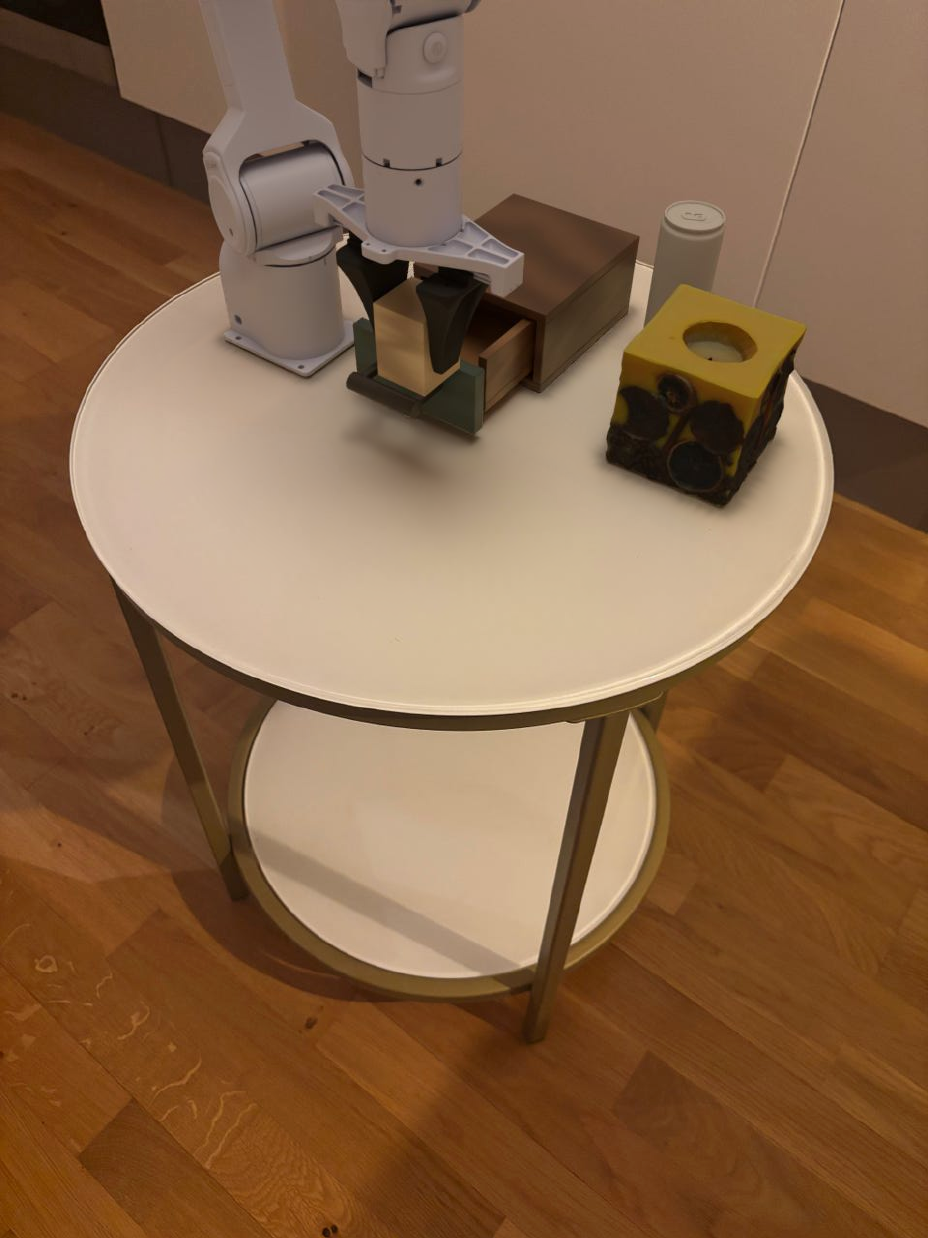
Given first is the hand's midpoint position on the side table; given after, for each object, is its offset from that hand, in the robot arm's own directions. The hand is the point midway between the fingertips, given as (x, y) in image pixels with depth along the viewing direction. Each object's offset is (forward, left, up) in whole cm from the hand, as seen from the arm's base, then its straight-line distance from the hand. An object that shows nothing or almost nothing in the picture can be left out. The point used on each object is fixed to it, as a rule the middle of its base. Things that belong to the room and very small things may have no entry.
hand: (418, 353), depth 65 cm
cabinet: (-4, +20, -10) cm, 23 cm away
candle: (+15, +14, -10) cm, 23 cm away
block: (0, 0, -1) cm, 1 cm away
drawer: (-4, +9, -9) cm, 13 cm away
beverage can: (+8, +24, -10) cm, 27 cm away
